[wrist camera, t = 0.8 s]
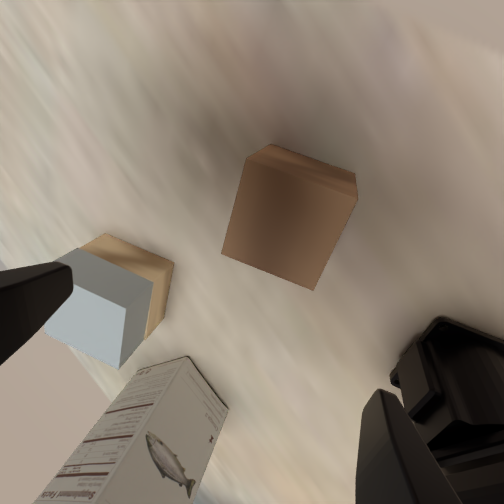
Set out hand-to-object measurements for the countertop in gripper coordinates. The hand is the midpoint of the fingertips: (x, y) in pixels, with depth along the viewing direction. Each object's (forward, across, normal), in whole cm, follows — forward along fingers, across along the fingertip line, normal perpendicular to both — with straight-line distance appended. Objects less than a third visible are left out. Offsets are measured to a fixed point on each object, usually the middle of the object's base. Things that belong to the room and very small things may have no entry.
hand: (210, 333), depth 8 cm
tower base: (+12, +10, +10) cm, 19 cm away
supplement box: (+12, +5, +21) cm, 25 cm away
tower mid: (+9, +10, +10) cm, 17 cm away
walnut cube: (+12, 0, -1) cm, 12 cm away
